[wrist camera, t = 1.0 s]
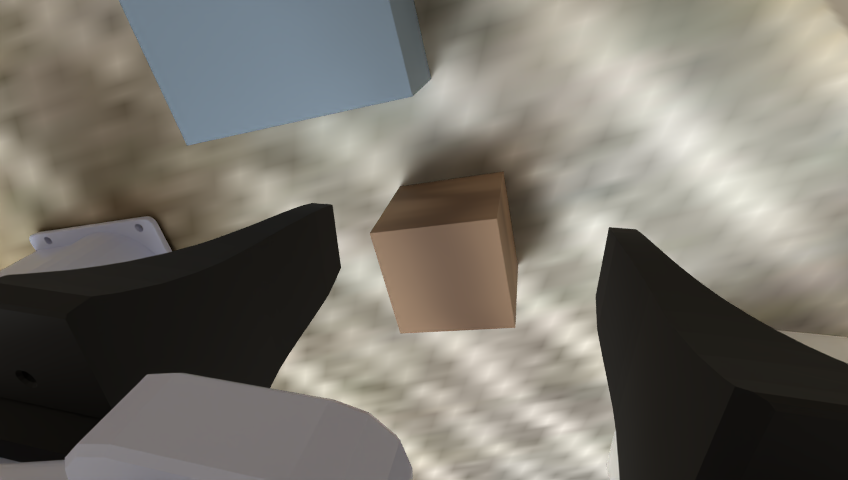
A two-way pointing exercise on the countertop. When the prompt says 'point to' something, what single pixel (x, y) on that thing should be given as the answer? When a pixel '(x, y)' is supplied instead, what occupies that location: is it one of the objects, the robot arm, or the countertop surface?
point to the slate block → (276, 59)
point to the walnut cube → (449, 255)
